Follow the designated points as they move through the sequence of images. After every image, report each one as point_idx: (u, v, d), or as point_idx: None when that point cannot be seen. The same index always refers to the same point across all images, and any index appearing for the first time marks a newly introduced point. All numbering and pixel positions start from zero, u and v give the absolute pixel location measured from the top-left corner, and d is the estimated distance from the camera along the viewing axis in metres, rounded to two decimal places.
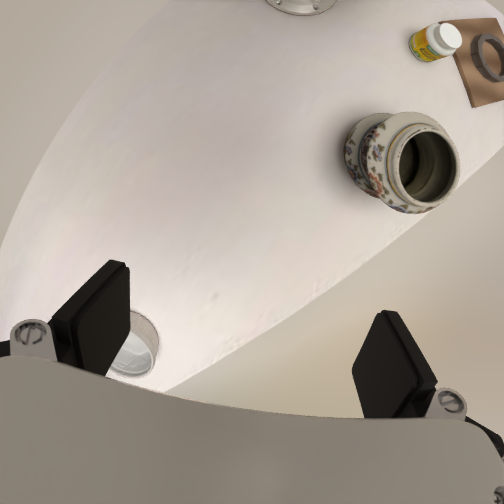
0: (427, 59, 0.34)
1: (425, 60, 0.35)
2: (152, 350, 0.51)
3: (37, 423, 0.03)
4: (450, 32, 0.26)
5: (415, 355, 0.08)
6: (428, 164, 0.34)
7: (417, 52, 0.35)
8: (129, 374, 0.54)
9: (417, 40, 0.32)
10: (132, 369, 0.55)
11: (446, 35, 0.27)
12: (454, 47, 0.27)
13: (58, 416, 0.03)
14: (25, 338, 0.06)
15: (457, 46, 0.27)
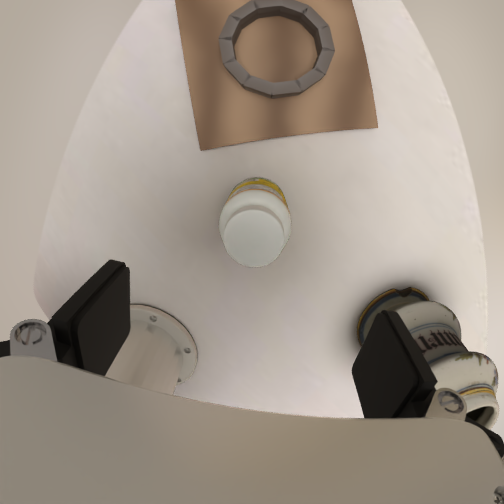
0: None
1: None
2: None
3: (37, 423, 0.03)
4: (246, 238, 0.20)
5: (415, 355, 0.08)
6: None
7: None
8: None
9: None
10: None
11: (254, 253, 0.20)
12: (282, 240, 0.20)
13: (58, 416, 0.03)
14: (25, 338, 0.06)
15: (280, 233, 0.20)
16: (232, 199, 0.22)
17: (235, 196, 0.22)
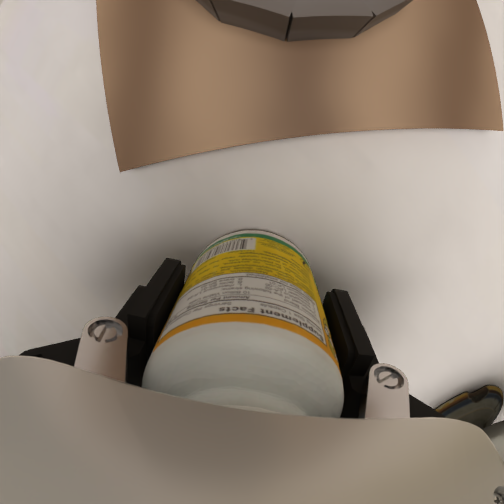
0: None
1: None
2: None
3: (37, 423, 0.03)
4: None
5: (355, 330, 0.09)
6: None
7: None
8: None
9: None
10: None
11: None
12: None
13: (58, 416, 0.03)
14: (100, 335, 0.07)
15: None
16: (166, 352, 0.06)
17: (175, 342, 0.06)
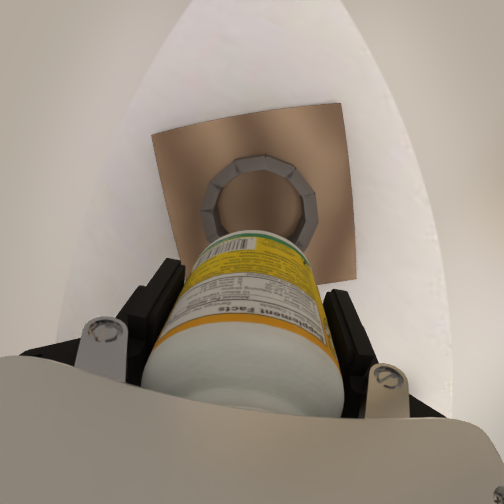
0: None
1: None
2: None
3: (37, 423, 0.03)
4: None
5: (355, 330, 0.09)
6: None
7: None
8: None
9: None
10: None
11: None
12: None
13: (58, 416, 0.03)
14: (100, 336, 0.07)
15: None
16: (165, 352, 0.06)
17: (174, 342, 0.06)
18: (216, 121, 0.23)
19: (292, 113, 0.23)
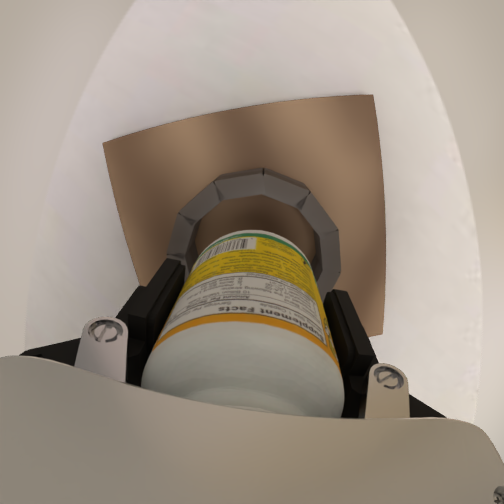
0: None
1: None
2: None
3: (37, 423, 0.03)
4: None
5: (355, 330, 0.09)
6: None
7: None
8: None
9: None
10: None
11: None
12: None
13: (58, 416, 0.03)
14: (100, 336, 0.07)
15: None
16: (165, 352, 0.06)
17: (174, 342, 0.06)
18: (191, 120, 0.16)
19: (303, 107, 0.15)
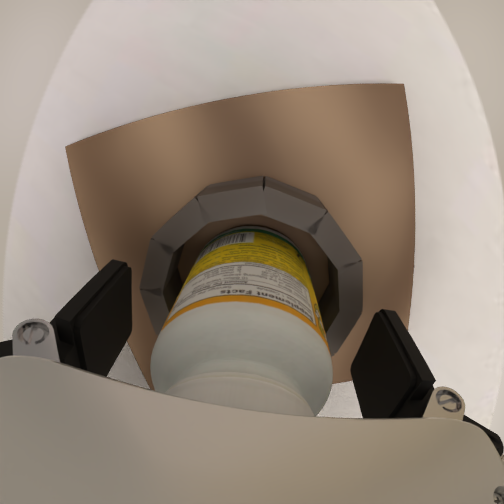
0: None
1: None
2: None
3: (37, 423, 0.03)
4: None
5: (413, 354, 0.08)
6: None
7: None
8: None
9: None
10: None
11: None
12: None
13: (58, 416, 0.03)
14: (28, 338, 0.06)
15: None
16: (174, 329, 0.07)
17: (182, 320, 0.07)
18: (170, 115, 0.12)
19: (316, 97, 0.11)
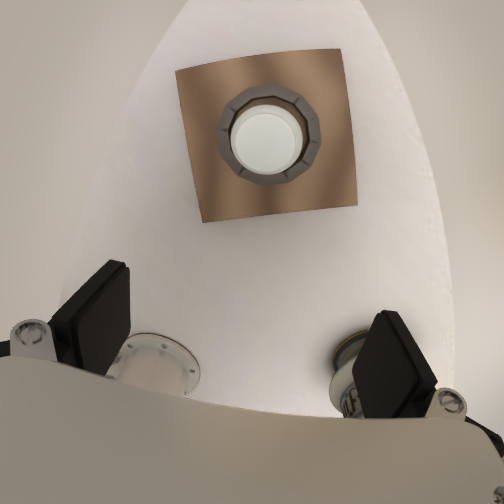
0: None
1: None
2: None
3: (37, 423, 0.03)
4: (258, 141, 0.19)
5: (415, 355, 0.08)
6: None
7: None
8: None
9: None
10: None
11: (266, 156, 0.20)
12: (294, 145, 0.19)
13: (58, 416, 0.03)
14: (25, 338, 0.06)
15: (292, 136, 0.19)
16: (245, 112, 0.21)
17: (248, 109, 0.21)
18: (233, 60, 0.25)
19: (298, 55, 0.24)
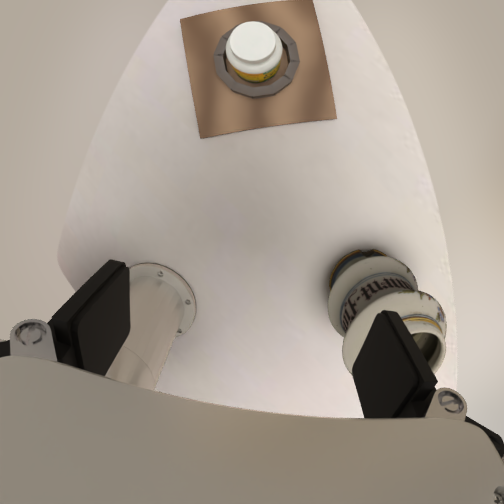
0: (278, 67, 0.29)
1: (278, 67, 0.29)
2: None
3: (37, 423, 0.03)
4: (247, 40, 0.22)
5: (415, 355, 0.08)
6: None
7: (267, 79, 0.30)
8: None
9: (249, 78, 0.28)
10: None
11: (253, 49, 0.22)
12: (274, 41, 0.22)
13: (58, 416, 0.03)
14: (25, 338, 0.06)
15: (272, 35, 0.21)
16: None
17: None
18: (226, 9, 0.28)
19: (278, 4, 0.27)
